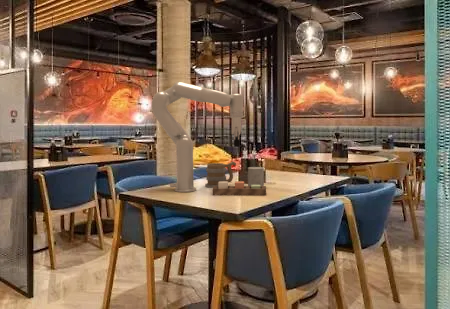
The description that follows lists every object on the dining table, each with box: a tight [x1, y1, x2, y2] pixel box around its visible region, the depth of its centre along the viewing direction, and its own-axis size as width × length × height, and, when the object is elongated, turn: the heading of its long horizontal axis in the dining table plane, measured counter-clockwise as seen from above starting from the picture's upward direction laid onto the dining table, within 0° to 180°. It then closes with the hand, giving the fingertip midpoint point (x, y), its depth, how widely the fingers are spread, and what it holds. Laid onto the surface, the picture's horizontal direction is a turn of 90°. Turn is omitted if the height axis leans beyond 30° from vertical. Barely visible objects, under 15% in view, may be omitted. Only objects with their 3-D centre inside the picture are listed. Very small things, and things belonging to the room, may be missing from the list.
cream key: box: [218, 181, 229, 188], centre depth 227 cm, size 5×5×4 cm
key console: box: [211, 185, 267, 196], centre depth 227 cm, size 29×10×4 cm, turn 86°
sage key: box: [251, 185, 260, 189], centre depth 226 cm, size 5×5×4 cm
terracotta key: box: [234, 180, 245, 189], centre depth 227 cm, size 5×5×4 cm
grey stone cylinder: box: [247, 166, 265, 186], centre depth 244 cm, size 10×10×12 cm
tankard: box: [204, 161, 237, 189], centre depth 253 cm, size 20×13×15 cm, turn 112°
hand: (236, 146), depth 240 cm, fingers closed
